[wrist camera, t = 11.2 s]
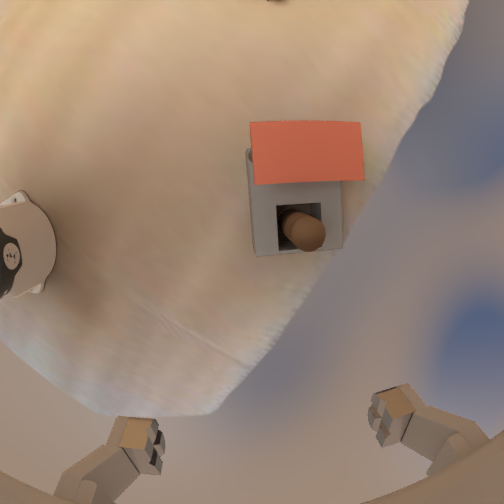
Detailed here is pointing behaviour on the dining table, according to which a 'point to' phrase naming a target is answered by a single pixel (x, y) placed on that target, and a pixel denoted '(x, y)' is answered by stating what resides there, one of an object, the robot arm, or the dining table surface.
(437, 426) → the robot arm
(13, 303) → the dining table surface
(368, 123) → the dining table surface
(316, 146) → the socket stand
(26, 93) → the dining table surface
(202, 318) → the dining table surface
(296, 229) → the walnut peg
